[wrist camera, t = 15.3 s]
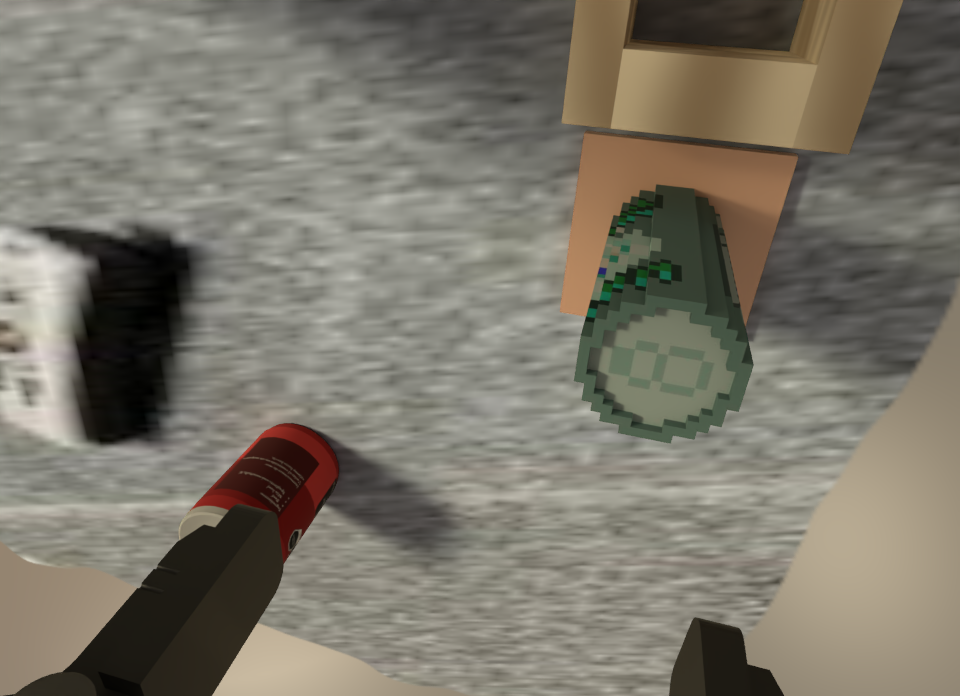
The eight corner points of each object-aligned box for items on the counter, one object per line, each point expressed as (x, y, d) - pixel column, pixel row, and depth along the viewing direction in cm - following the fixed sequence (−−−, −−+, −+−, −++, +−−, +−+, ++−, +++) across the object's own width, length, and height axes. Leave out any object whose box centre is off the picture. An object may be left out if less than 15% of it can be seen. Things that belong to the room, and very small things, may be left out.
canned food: (287, 496, 56) (212, 594, 47) (245, 426, 53) (156, 516, 44) (357, 489, 54) (291, 592, 44) (316, 414, 50) (237, 507, 41)
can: (619, 180, 34) (588, 285, 22) (733, 193, 33) (770, 313, 21) (602, 279, 37) (567, 422, 25) (706, 295, 36) (724, 454, 24)
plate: (561, 306, 40) (559, 312, 39) (585, 130, 34) (584, 133, 34) (739, 336, 38) (740, 342, 37) (795, 153, 32) (798, 156, 32)
